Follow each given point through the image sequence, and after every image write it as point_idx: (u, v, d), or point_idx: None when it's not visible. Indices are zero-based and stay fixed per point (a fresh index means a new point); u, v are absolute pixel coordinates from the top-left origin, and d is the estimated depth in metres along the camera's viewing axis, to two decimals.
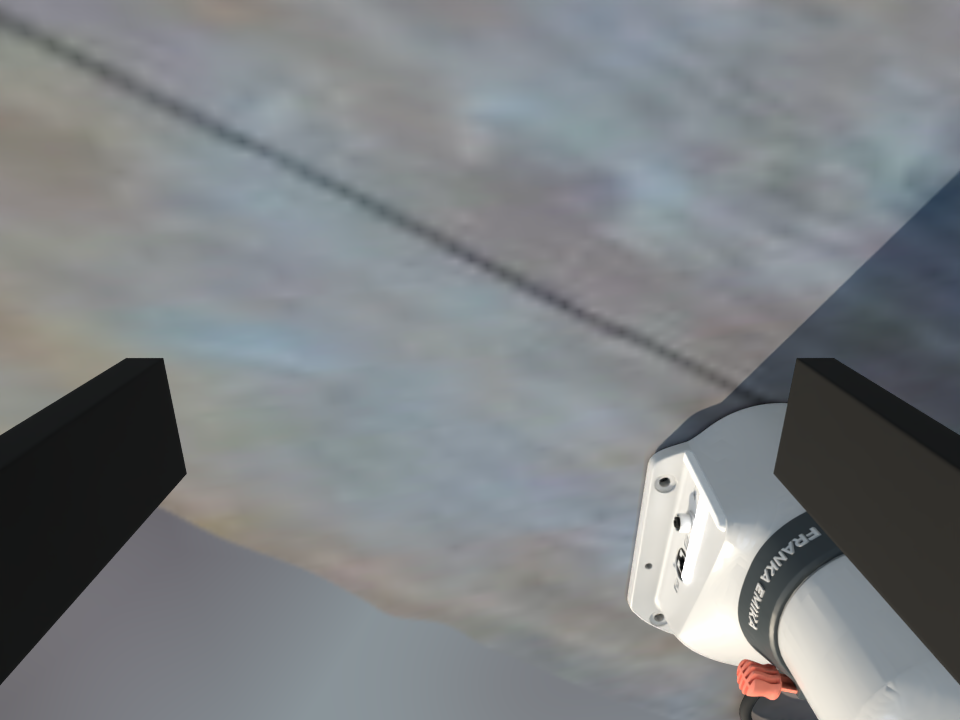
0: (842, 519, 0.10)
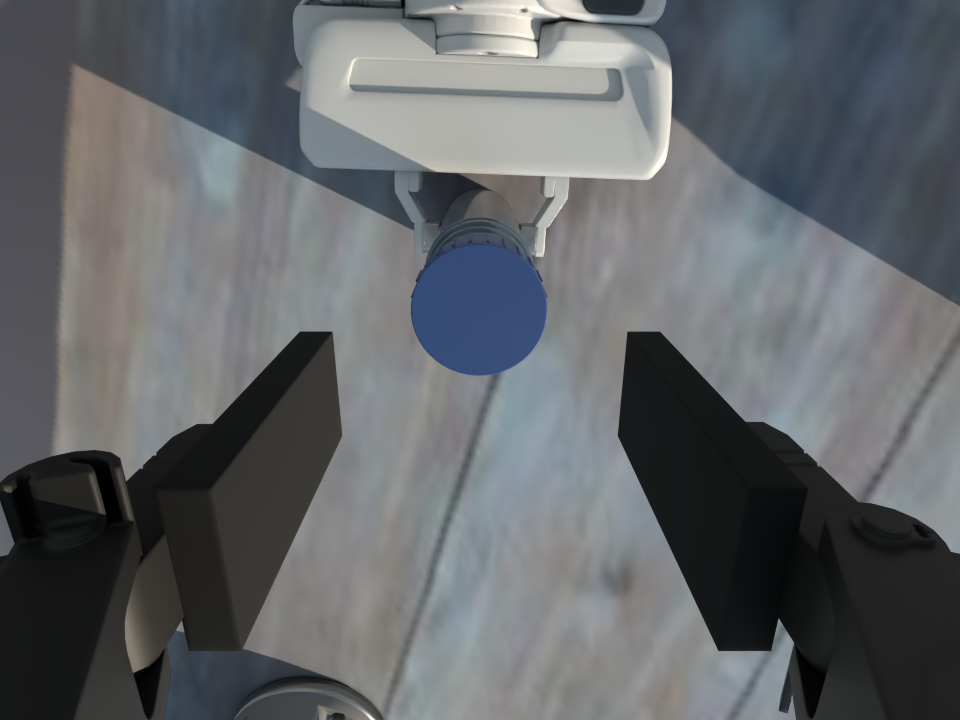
0: (645, 467, 0.12)
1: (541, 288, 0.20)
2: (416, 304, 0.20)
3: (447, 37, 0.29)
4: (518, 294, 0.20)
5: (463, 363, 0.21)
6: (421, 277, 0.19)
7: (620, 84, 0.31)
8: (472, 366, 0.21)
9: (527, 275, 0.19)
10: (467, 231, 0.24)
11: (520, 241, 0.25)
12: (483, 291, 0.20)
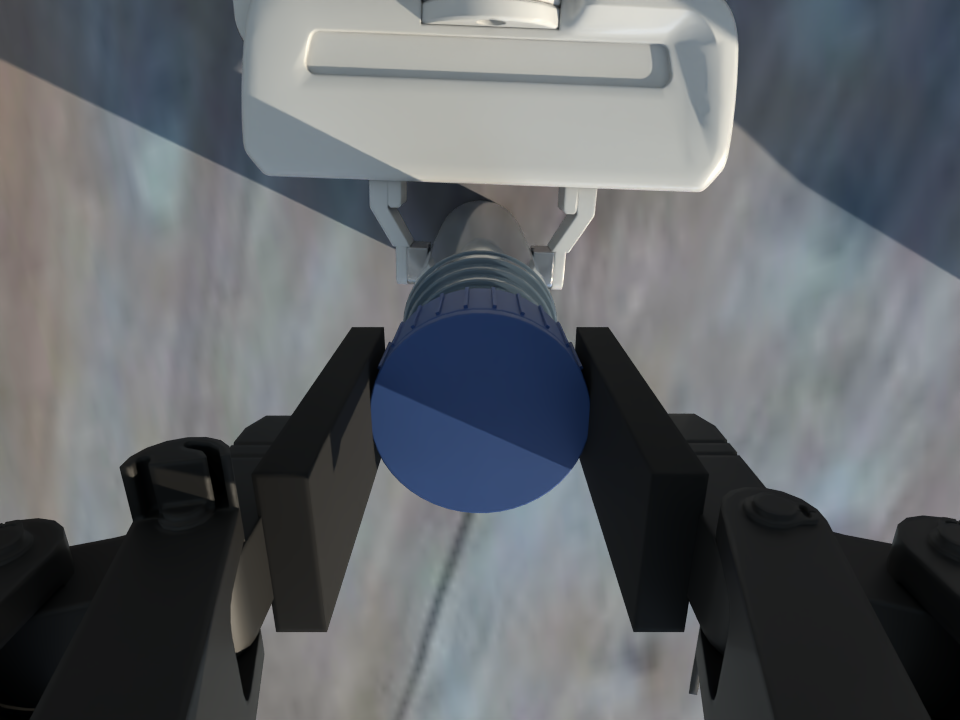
0: (587, 458, 0.12)
1: (582, 383, 0.12)
2: (377, 407, 0.12)
3: (436, 0, 0.22)
4: (544, 392, 0.12)
5: (455, 495, 0.13)
6: (385, 365, 0.12)
7: (668, 65, 0.23)
8: (469, 500, 0.13)
9: (559, 362, 0.12)
10: (462, 274, 0.16)
11: (539, 286, 0.17)
12: (487, 388, 0.12)
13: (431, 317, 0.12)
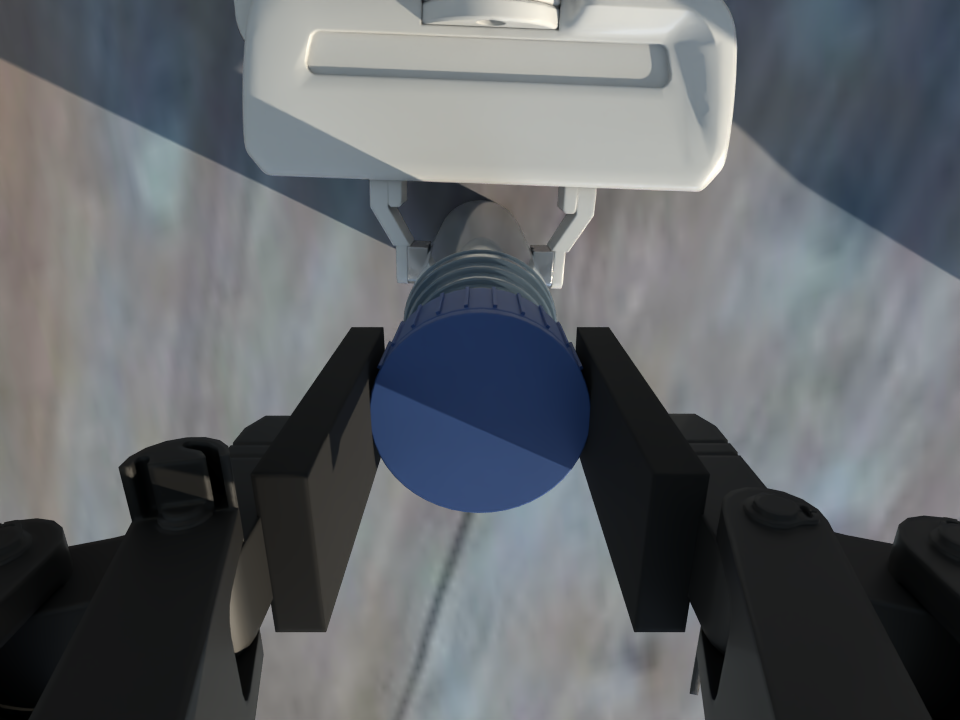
0: (588, 459, 0.12)
1: (419, 333, 0.12)
2: (484, 506, 0.13)
3: (436, 1, 0.22)
4: (437, 367, 0.12)
5: (571, 428, 0.12)
6: (442, 504, 0.13)
7: (667, 65, 0.23)
8: (574, 414, 0.12)
9: (402, 359, 0.12)
10: (462, 273, 0.16)
11: (539, 285, 0.17)
12: (444, 419, 0.12)
13: None
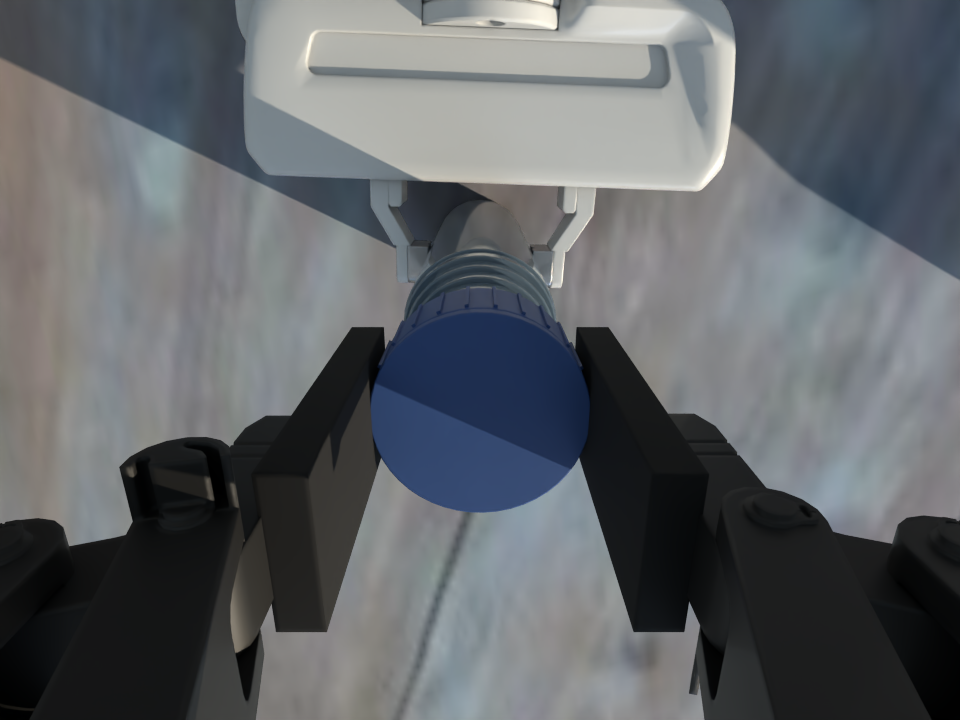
0: (588, 459, 0.12)
1: (404, 482, 0.13)
2: (581, 397, 0.12)
3: (437, 1, 0.22)
4: (433, 464, 0.13)
5: (472, 331, 0.12)
6: (585, 437, 0.12)
7: (666, 65, 0.23)
8: (455, 332, 0.12)
9: (432, 492, 0.13)
10: (462, 272, 0.16)
11: (538, 284, 0.17)
12: (486, 450, 0.12)
13: None
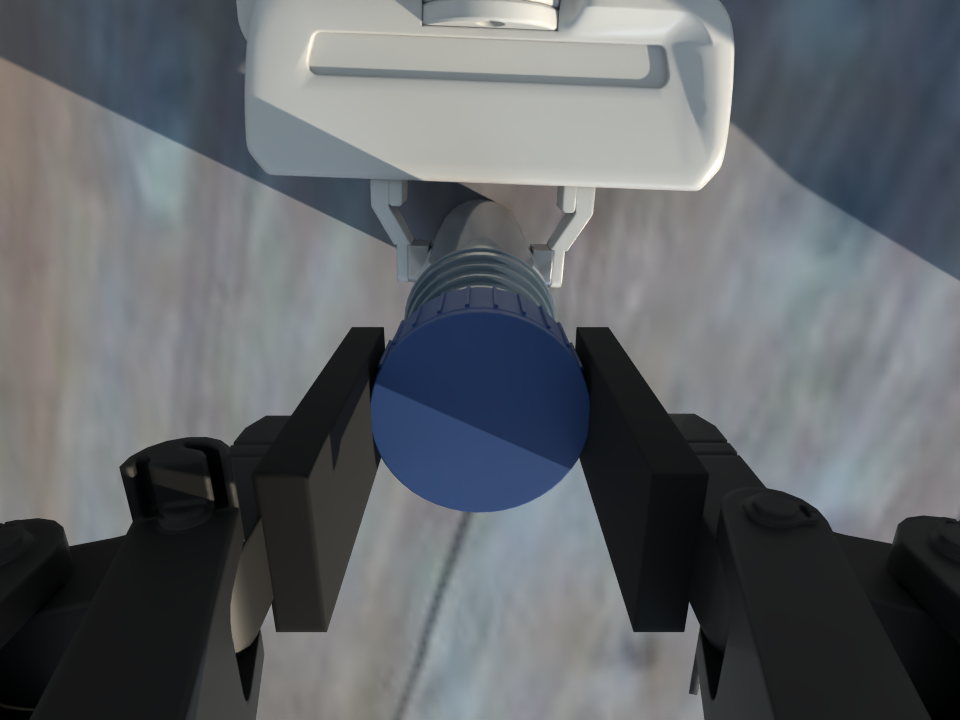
0: (588, 459, 0.12)
1: (563, 474, 0.13)
2: (435, 329, 0.12)
3: (437, 2, 0.22)
4: (537, 452, 0.12)
5: (392, 440, 0.12)
6: (481, 314, 0.11)
7: (665, 66, 0.23)
8: (396, 454, 0.13)
9: (570, 448, 0.12)
10: (462, 271, 0.16)
11: (538, 283, 0.17)
12: (513, 408, 0.12)
13: (541, 323, 0.12)
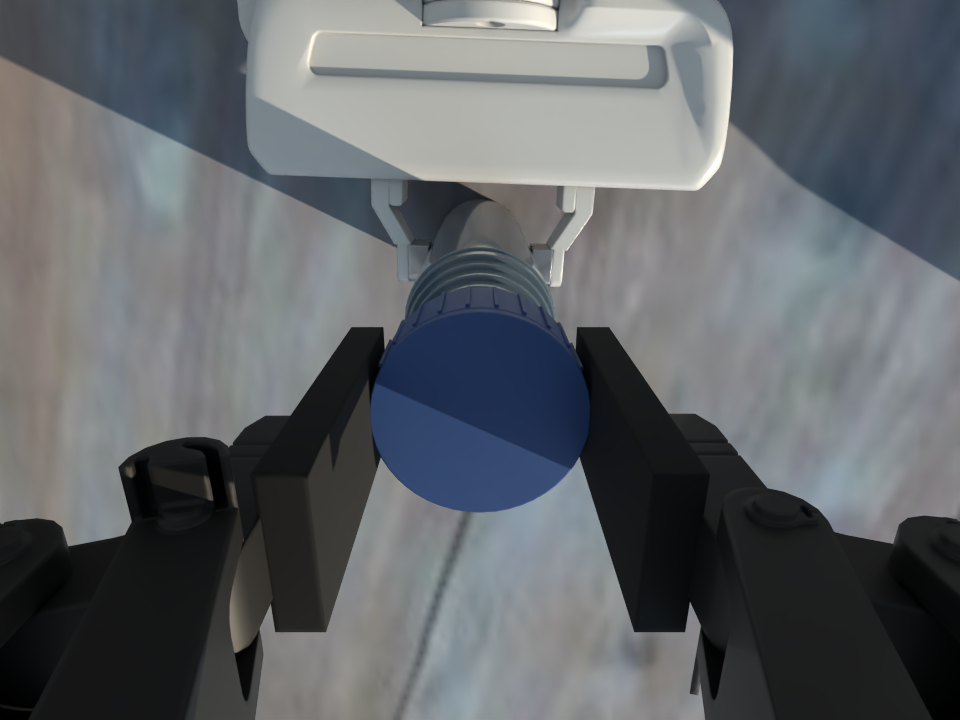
0: (588, 459, 0.12)
1: (530, 326, 0.12)
2: (398, 469, 0.13)
3: (437, 2, 0.22)
4: (507, 358, 0.12)
5: (518, 490, 0.13)
6: (374, 435, 0.12)
7: (664, 66, 0.23)
8: (532, 486, 0.13)
9: (496, 326, 0.12)
10: (462, 270, 0.17)
11: (538, 282, 0.17)
12: (461, 391, 0.12)
13: None
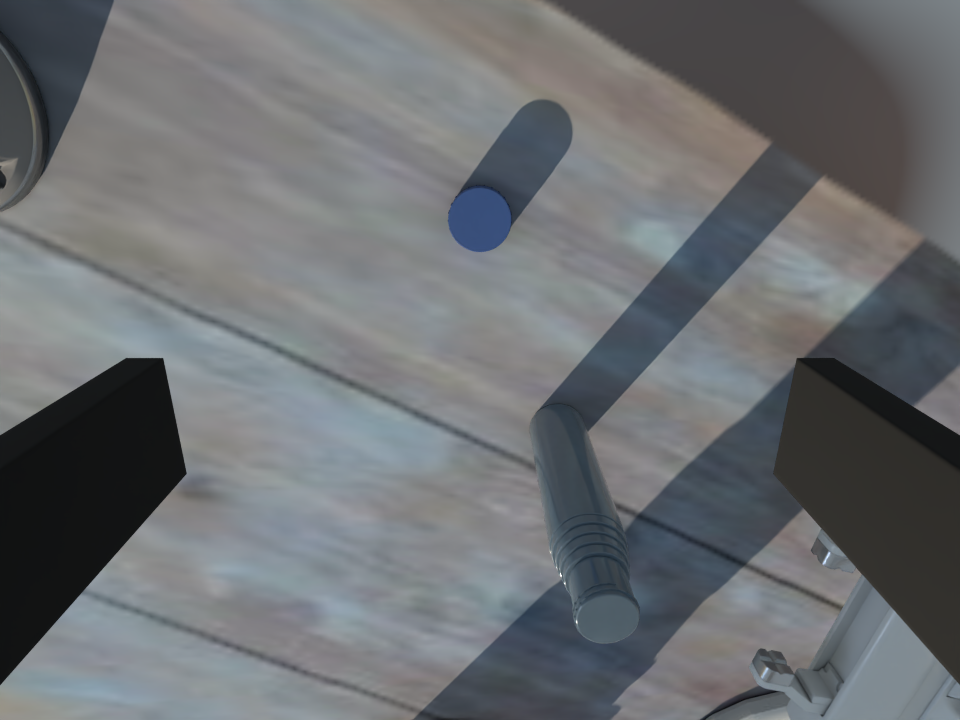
0: (841, 519, 0.10)
1: (493, 191, 0.42)
2: (456, 237, 0.43)
3: None
4: (487, 201, 0.43)
5: (491, 244, 0.44)
6: (449, 225, 0.43)
7: None
8: (495, 242, 0.44)
9: (484, 191, 0.42)
10: None
11: None
12: (474, 211, 0.43)
13: None
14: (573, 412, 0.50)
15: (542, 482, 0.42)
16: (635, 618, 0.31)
